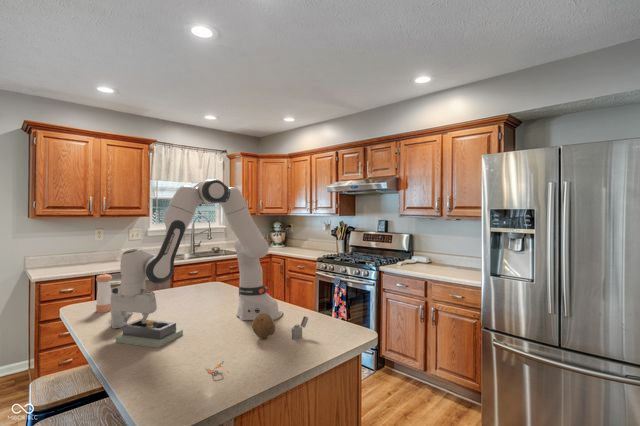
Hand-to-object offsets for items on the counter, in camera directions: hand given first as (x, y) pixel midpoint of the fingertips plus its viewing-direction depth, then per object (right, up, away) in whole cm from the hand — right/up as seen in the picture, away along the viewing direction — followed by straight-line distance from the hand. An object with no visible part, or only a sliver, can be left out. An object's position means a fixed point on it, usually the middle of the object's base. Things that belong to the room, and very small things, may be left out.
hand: (134, 322), depth 141 cm
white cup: (-20, -6, +28) cm, 35 cm away
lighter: (+68, -6, -2) cm, 68 cm away
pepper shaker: (-34, -5, +36) cm, 50 cm away
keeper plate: (+8, -6, -2) cm, 10 cm away
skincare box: (-14, -6, +13) cm, 20 cm away
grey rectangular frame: (+8, -4, -2) cm, 9 cm away
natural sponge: (+53, -6, -3) cm, 54 cm away
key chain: (+43, -7, -30) cm, 53 cm away
